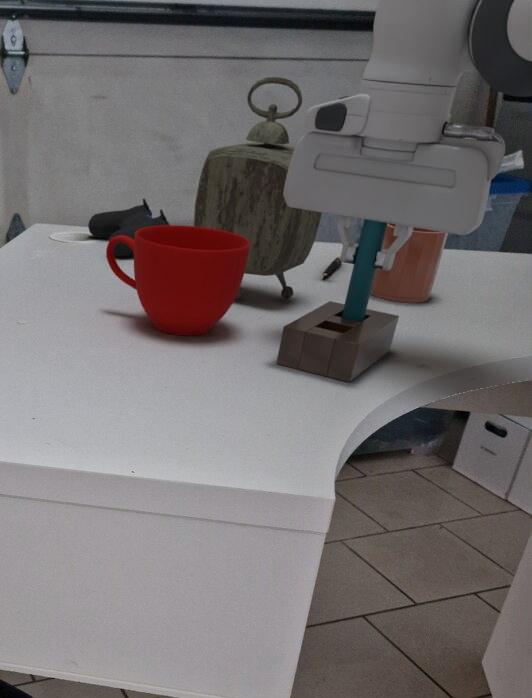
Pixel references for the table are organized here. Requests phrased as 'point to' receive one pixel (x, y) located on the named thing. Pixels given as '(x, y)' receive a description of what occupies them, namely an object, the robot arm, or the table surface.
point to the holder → (336, 341)
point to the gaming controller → (124, 225)
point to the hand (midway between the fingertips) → (365, 265)
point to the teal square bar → (364, 270)
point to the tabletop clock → (258, 195)
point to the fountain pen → (332, 266)
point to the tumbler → (410, 266)
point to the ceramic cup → (184, 274)
